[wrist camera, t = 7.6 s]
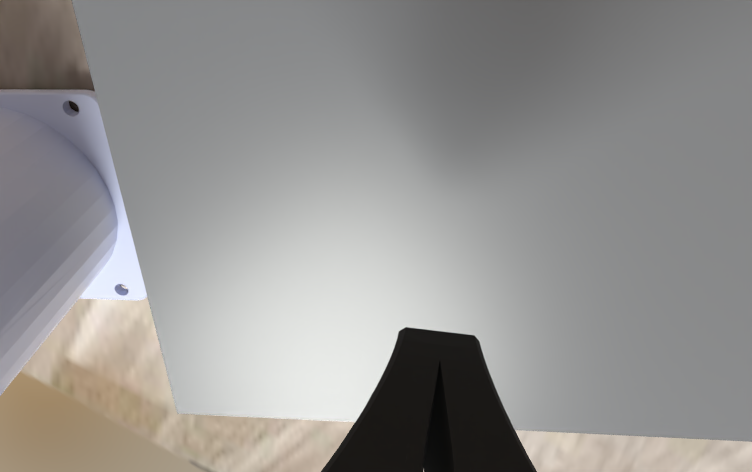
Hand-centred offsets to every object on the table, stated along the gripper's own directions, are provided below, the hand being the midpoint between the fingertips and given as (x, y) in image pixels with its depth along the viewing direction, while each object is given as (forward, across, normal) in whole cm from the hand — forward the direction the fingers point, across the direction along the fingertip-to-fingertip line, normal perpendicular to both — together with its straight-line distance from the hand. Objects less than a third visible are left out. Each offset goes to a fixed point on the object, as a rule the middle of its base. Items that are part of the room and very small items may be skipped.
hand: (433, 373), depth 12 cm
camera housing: (+10, -1, 0) cm, 10 cm away
